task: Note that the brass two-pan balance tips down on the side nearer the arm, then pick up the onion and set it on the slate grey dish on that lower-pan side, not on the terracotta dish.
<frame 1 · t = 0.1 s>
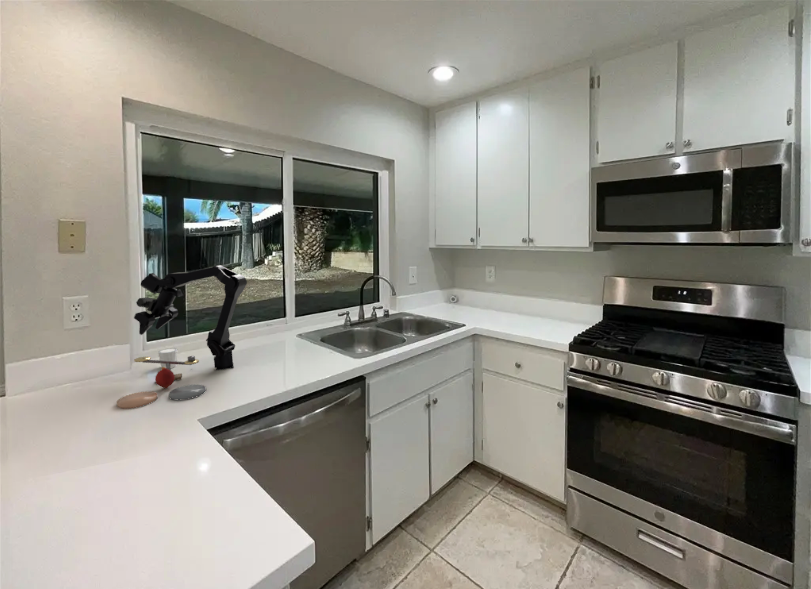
hand: (148, 331, 162), 15 cm above the worktop, tool tilted 35°, fingers open, 9 cm apart
white cylinder: (169, 367, 163), on the worktop
onion: (166, 388, 139), on the worktop
balance: (169, 379, 148), on the worktop
slate dish: (187, 393, 134), on the worktop
terracotta dish: (137, 401, 128), on the worktop
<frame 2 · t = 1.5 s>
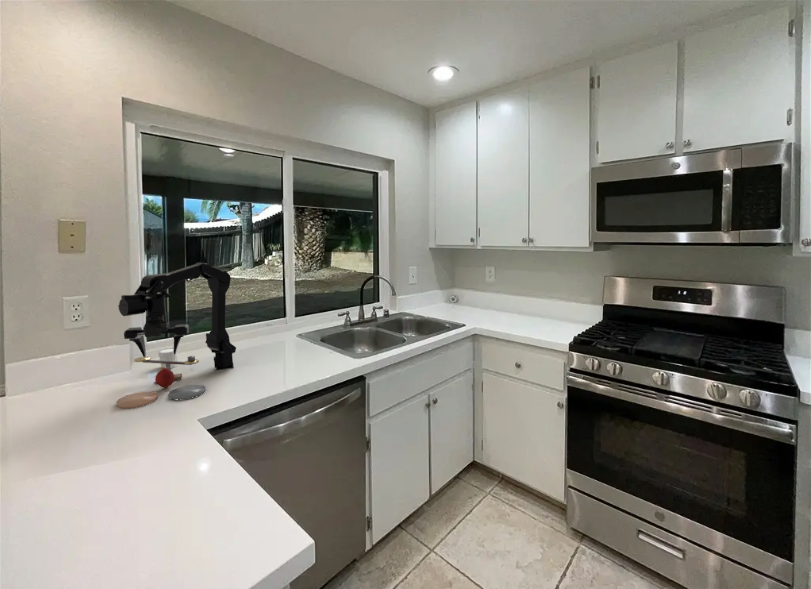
hand: (159, 355, 138), 12 cm above the worktop, tool pointing down, fingers open, 9 cm apart
nothing on the worktop moved.
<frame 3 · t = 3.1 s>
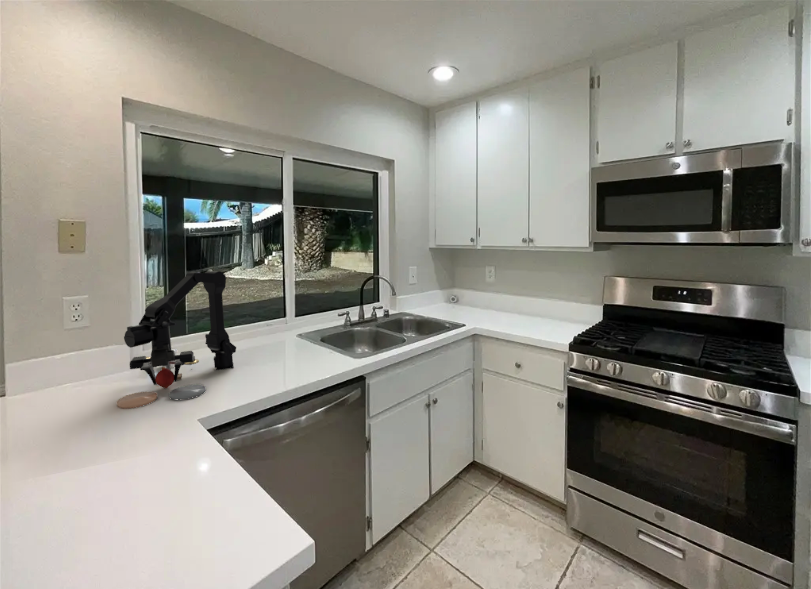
hand: (165, 382, 139), 2 cm above the worktop, tool pointing down, fingers closed on onion, 6 cm apart
onion: (166, 388, 139), on the worktop, touching gripper
everything else where it was.
when the fingers open (4 cm above the worktop, at t = 7.1 s): onion drops 1 cm, resting on slate dish.
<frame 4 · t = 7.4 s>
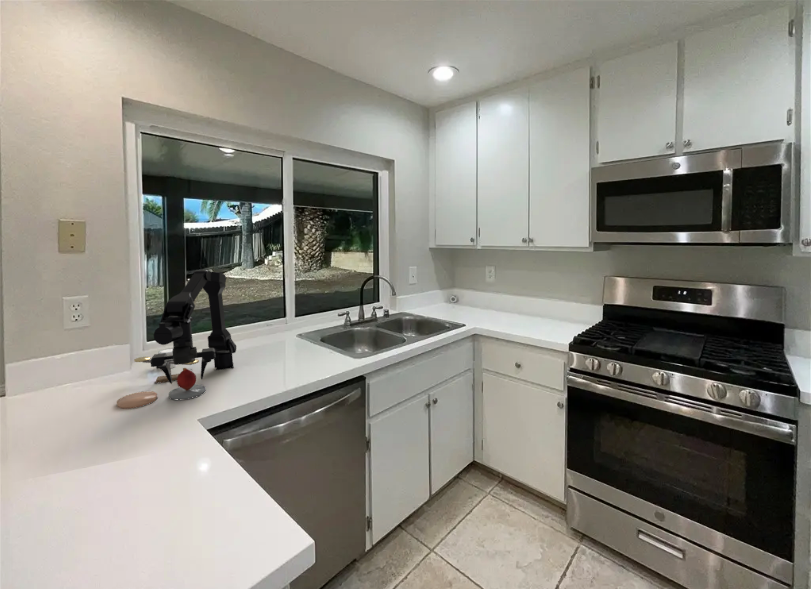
hand: (186, 381, 134), 4 cm above the worktop, tool pointing down, fingers open, 9 cm apart
onion: (187, 390, 134), point 1 cm above the worktop, touching slate dish
everything else where it was.
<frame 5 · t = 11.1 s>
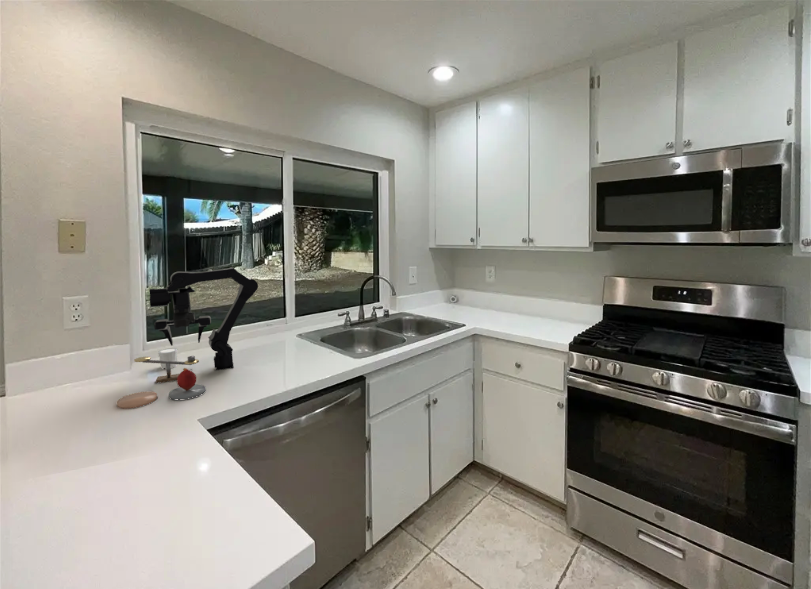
hand: (185, 344, 153), 12 cm above the worktop, tool pointing down, fingers open, 9 cm apart
nothing on the worktop moved.
at the end: onion inside the target area on the slate dish (0.0 cm from its centre), point 1.0 cm above the slate dish's base; onion touching slate dish; the gripper is holding nothing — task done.
